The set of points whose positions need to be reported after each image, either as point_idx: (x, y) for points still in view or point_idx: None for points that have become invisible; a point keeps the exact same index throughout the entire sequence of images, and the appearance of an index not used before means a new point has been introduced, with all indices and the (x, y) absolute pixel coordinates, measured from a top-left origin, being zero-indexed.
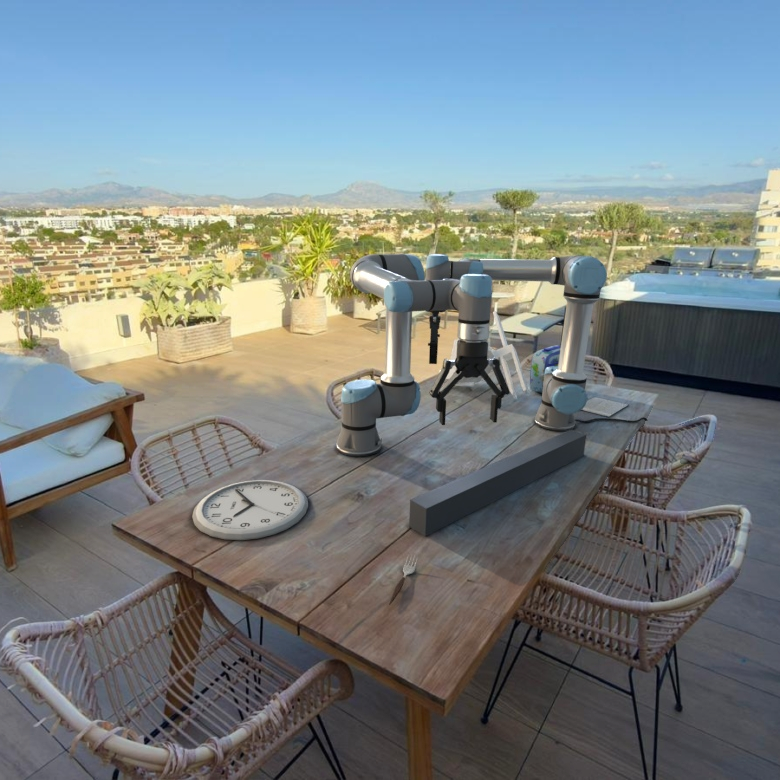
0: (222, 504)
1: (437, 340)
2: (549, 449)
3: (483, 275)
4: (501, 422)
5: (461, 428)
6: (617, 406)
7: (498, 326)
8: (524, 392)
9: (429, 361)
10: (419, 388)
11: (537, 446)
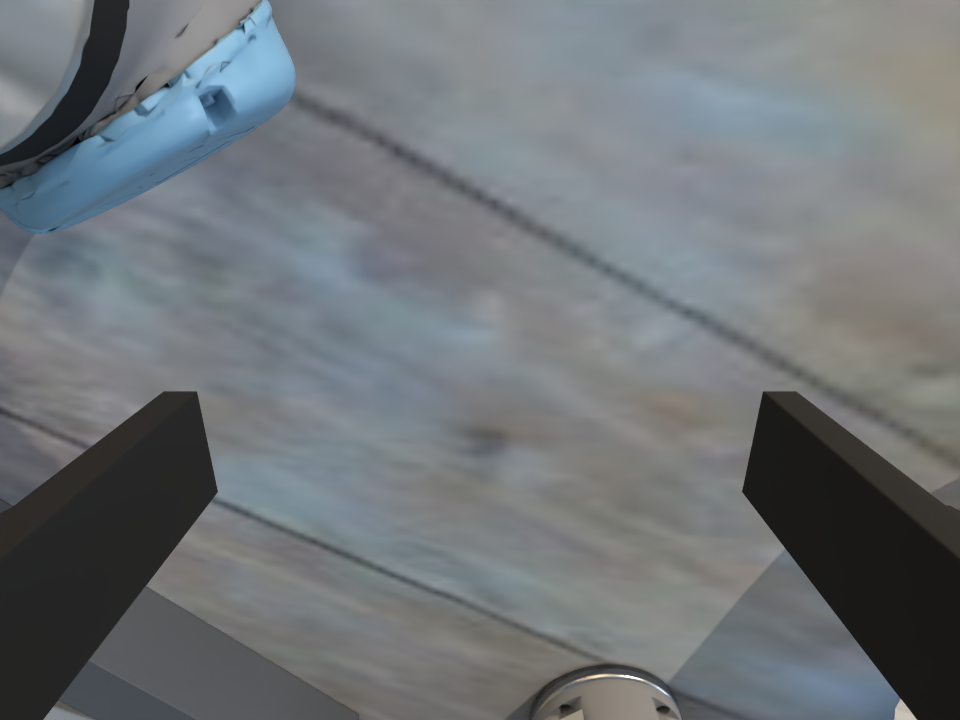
0: None
1: (914, 700)
2: (106, 717)
3: None
4: (612, 557)
5: (519, 396)
6: None
7: None
8: (898, 704)
9: (145, 412)
10: (30, 225)
11: (119, 688)
